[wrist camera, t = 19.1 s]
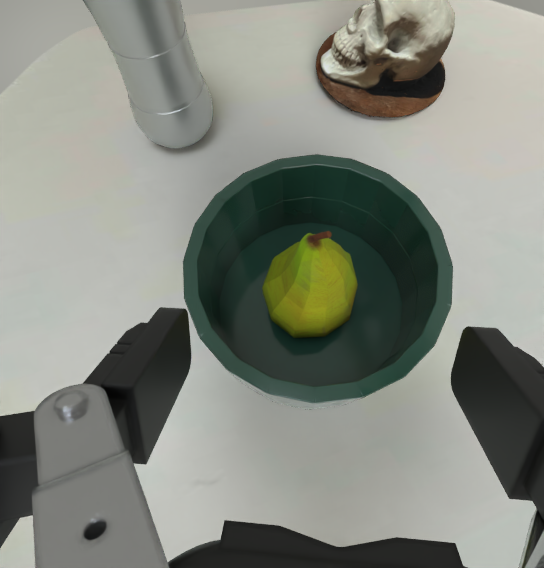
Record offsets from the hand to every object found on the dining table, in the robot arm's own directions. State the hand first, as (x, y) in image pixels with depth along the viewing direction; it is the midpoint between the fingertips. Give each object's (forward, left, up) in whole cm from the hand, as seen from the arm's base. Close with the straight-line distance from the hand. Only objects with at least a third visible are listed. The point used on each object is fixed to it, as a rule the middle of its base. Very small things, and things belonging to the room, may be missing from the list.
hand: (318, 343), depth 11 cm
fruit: (+1, +6, -15) cm, 16 cm away
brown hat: (+11, +28, -15) cm, 34 cm away
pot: (+1, +6, -15) cm, 17 cm away
